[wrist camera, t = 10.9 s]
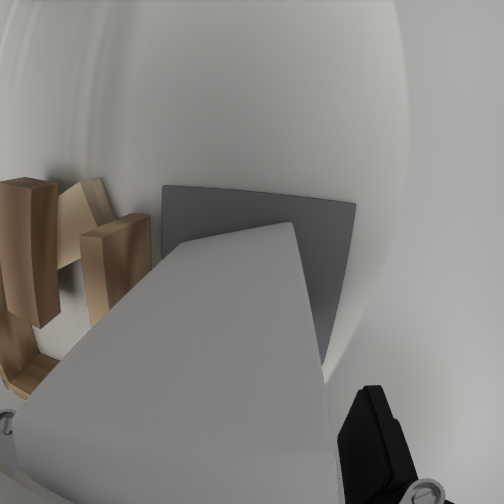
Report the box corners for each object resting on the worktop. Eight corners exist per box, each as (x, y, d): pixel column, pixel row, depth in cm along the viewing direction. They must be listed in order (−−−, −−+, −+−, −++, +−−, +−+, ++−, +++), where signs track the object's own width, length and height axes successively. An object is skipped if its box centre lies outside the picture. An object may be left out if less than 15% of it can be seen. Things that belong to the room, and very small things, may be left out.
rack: (2, 207, 19) (-44, 222, 14) (150, 214, 18) (101, 238, 13) (35, 359, 25) (6, 388, 19) (164, 403, 24) (143, 450, 18)
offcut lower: (20, 236, 21) (-2, 245, 18) (104, 177, 18) (79, 181, 16) (38, 279, 22) (18, 291, 19) (127, 233, 20) (105, 245, 17)
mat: (164, 185, 18) (162, 186, 17) (354, 203, 17) (356, 204, 17) (167, 343, 21) (166, 346, 21) (322, 362, 21) (322, 365, 20)
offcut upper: (28, 296, 19) (8, 310, 16) (24, 177, 16) (-2, 181, 13) (60, 312, 19) (40, 329, 16) (59, 183, 16) (31, 189, 13)
